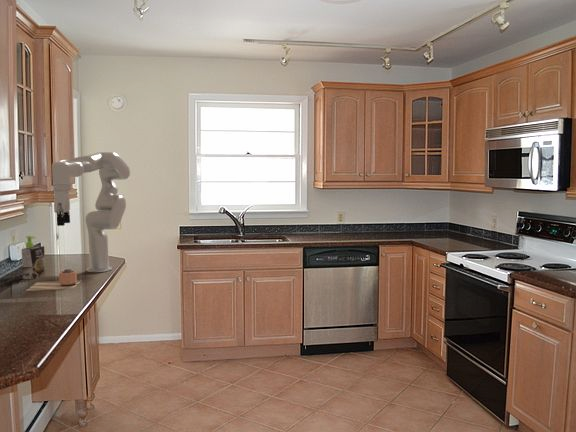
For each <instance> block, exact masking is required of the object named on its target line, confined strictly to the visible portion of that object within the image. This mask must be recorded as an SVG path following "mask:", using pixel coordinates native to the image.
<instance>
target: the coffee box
mask: <svg viewBox="0 0 576 432" xmlns="http://www.w3.org/2000/svg"><path fill="white" fill-rule="evenodd" d="M45 253H46V252H45V246H44V245H43V246H39V245H38V246H37V245H36V246H35V245H34V246H33V247H28V248H26V247H25V248H22V249H21V268H22V279H23V280H24V279H25V280H36V279H38V278H39V279H40V278H42V277H46V276H47V275H46V274H47V273H46V258H45Z"/></svg>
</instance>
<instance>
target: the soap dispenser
mask: <svg viewBox="0 0 576 432" xmlns="http://www.w3.org/2000/svg"><path fill="white" fill-rule="evenodd" d="M25 237H26V239H27V242H26V243H25V248H28V247H33V246H35V245H34V242H33V241H32V239H36V236H34V235H28V236H27V235H26V236H25Z"/></svg>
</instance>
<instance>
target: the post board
mask: <svg viewBox="0 0 576 432" xmlns="http://www.w3.org/2000/svg"><path fill="white" fill-rule="evenodd" d="M71 270H72V269H70V268H69V269H68V268H67V269H64V273H71ZM81 282H82V280H77V282H76V283H74V284H68V285H62V284H59V280H57V281H55V280H54V281H37V282H35V283H34V284H33V285H31V286H30V287H28V288H27V289H26V290H25V291H28V292H29V291H53V290H73V289H75V287H77V286H78V285H79V284H80V283H81Z"/></svg>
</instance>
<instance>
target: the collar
mask: <svg viewBox="0 0 576 432" xmlns="http://www.w3.org/2000/svg"><path fill="white" fill-rule="evenodd" d="M77 272H78V271H77V270H73V269H71V273H64V271H60V272H59V273H58V281H59V284H62V285H68V284H74V283H76V282H77V281H78V277H77V276H78V275H77V274H78V273H77Z"/></svg>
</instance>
